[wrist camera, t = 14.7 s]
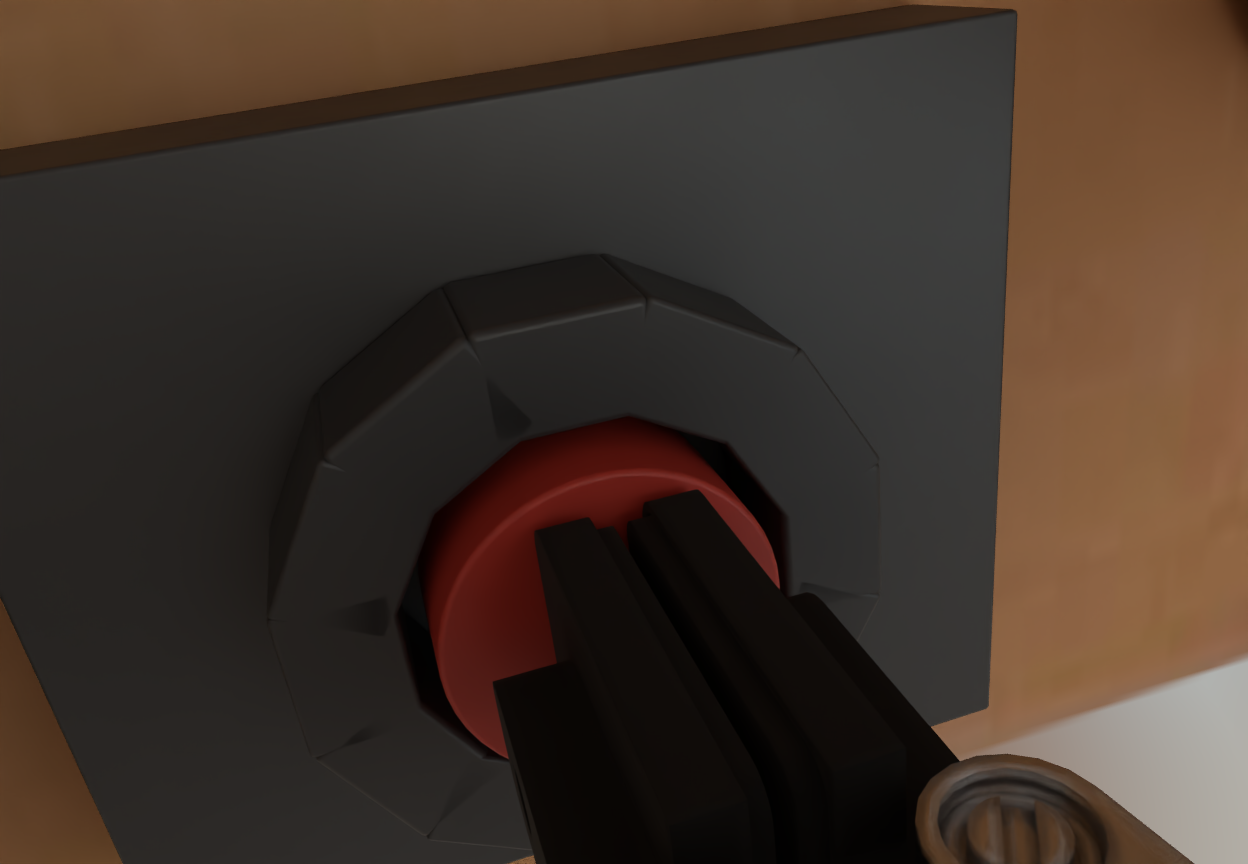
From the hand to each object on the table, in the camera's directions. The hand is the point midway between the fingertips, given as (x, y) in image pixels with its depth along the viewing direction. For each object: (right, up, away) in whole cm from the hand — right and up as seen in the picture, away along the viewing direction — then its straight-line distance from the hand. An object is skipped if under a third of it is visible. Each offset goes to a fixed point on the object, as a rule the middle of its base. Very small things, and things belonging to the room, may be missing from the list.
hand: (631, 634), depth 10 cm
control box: (-1, +2, +4) cm, 5 cm away
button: (-1, +1, +1) cm, 2 cm away
